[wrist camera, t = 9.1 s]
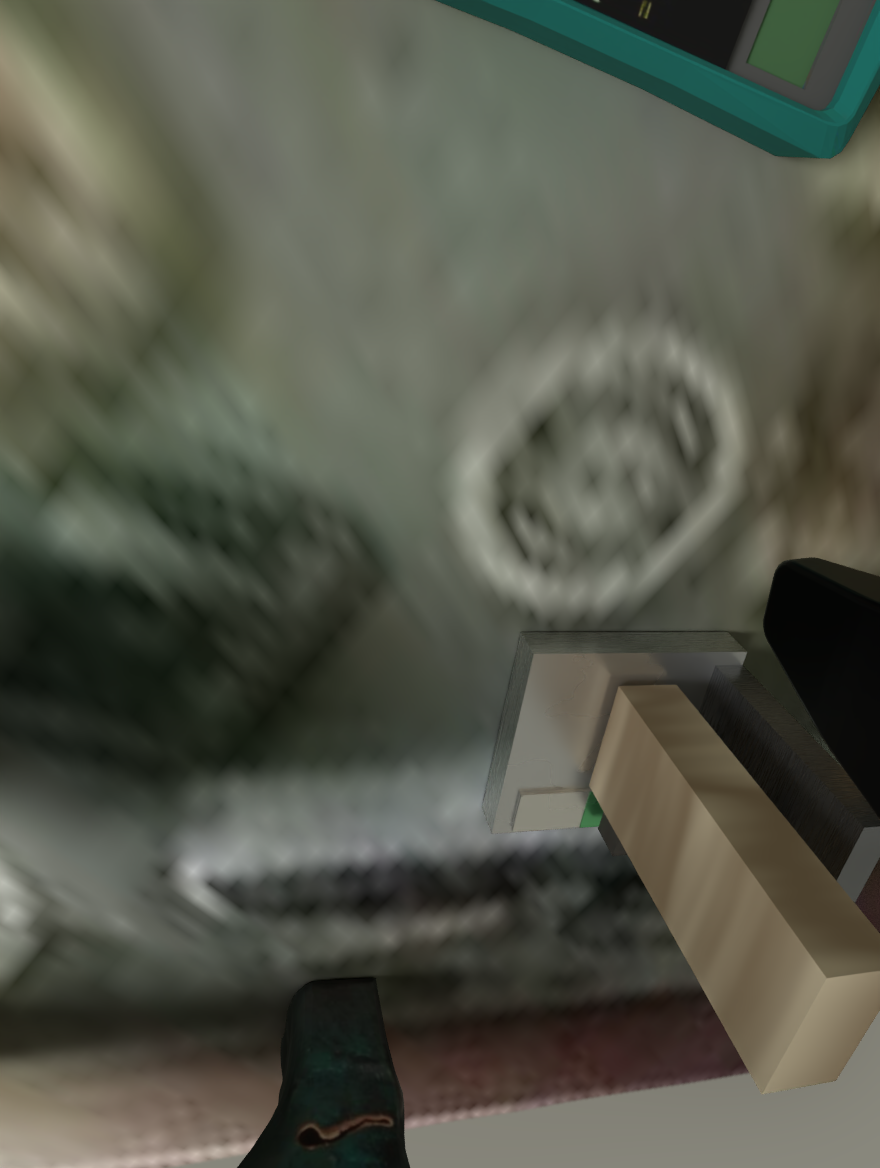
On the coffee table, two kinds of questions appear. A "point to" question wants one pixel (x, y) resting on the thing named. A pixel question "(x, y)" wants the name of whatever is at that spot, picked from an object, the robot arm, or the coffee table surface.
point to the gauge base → (720, 694)
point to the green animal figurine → (335, 1085)
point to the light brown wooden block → (737, 891)
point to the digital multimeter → (724, 59)
